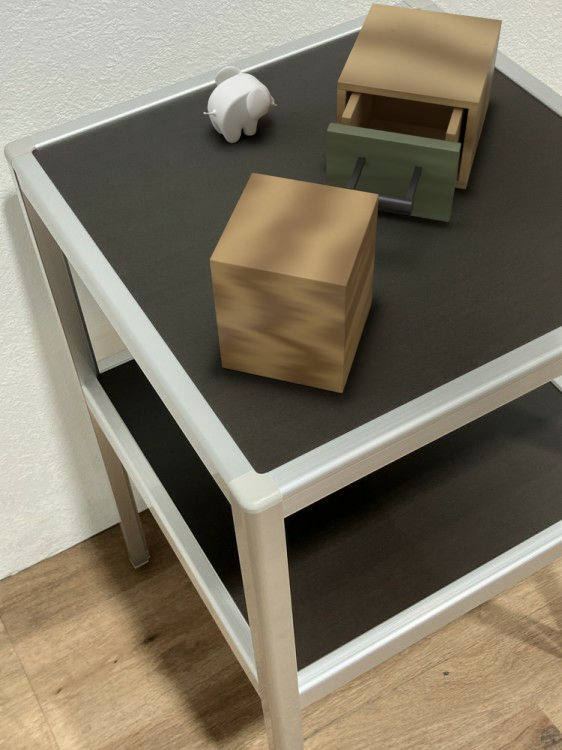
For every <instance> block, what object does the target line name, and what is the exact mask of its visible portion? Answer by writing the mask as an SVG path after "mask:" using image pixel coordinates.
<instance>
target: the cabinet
mask: <svg viewBox="0 0 562 750" xmlns="http://www.w3.org/2000/svg"><path fill="white" fill-rule="evenodd" d="M502 25H503V20H502V19H496V18H487V17H481V16H480V17H479V16H474V15H473V16H472V15H467V14H466V15H465V14H458V13H449V12H443V11H442V12H441V11H434V10H427V9H421V8H419V9H418V8H412V7H410V8H409V7H405V6H396V5H388V4H380V3H372V4H371V5H370V8H369V10H368V13H367V14H366V17H365V20H364V22H363V24H362V26H361V29H360V30H359V33H358V34H357V37H356V39H355V42H354V44H353V46H352V48H351V51H350V53H349V55H348V58H347V60H346V62H345V64H344V66H343V69H342V71H341V73H340V76H339V78H338V80H337V86H336V87H337V88H336V89H337V90H336V91H337V92H336V124H342V116H343V113H344V111H345V109H346V106H347V104H348V101H349V99H350V97H351V94H352V92H353V91H354V92H360V93H367V94H374V95H380V96H387V97H394V98H400V99H407V100H414V101H420V102H427V103H434V104H440V105H447V106H454V107H460V108H467V109H469V110H468V117H467V124H466V131H465V138H464V141H463V145H462V148H461V152H460V156H459V163H458V170H457V177H456V184H455V189H461V190H466V189H467V186H468V182H469V178H470V176H471V171H472V168H473V163H474V160H475V156H476V152H477V149H478V144H479V141H480V138H481V134H482V130H483V126H484V123H485V119H486V116H487V112H488V108H489V104H490V97H491V91H492V86H493V78H494V73H495V67H496V62H497V61H496V60H497V56H498V55H497V54H498V49H499V44H500V43H499V42H500V36H501V31H502Z"/></svg>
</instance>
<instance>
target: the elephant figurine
mask: <svg viewBox="0 0 562 750" xmlns="http://www.w3.org/2000/svg"><path fill="white" fill-rule="evenodd" d="M214 82H215V84H216V87H215V88H214V89H213V91H211V94H210V95H209V98H208V102H207V112H205V111H204V112H203V115H208V117H209V119H210V122H211V124H212V126H213V128H214V129H215V131H216V132H217V133H218V134H221V135H223V137H224V138H225V140H226V141H227V142H228V143H231V144H234V143H237V142H239V140H240V139H241V135H242V131H243V133H244V135H245V136H254V135H255V134H256V132H257V127H258V121H259V119H260V118H262V117H264V116H265V115H267V114H268V113H269V111H270V110H271V109H272V108H273V107H276V106H278V104H276V103H275V98H274V97H273V96H272V95H271V93H270V91H269V89H268V87H267V86H266V85H265V84H263V83H262V82H261V81H260V80H259V79H257V78H256V76H254V75H252V74H250V73H244V72H243V71H242V70H240V69H239V68H238V67H237V66H234V65H228V66H225V67H223V68H222V69H220V70H219V71H218V72H217V73H216V75H215V78H214Z"/></svg>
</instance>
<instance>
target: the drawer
mask: <svg viewBox="0 0 562 750" xmlns="http://www.w3.org/2000/svg"><path fill="white" fill-rule="evenodd" d="M468 110H469V109H467V108H460V107H454V106H447V105H440V104H434V103H427V102H420V101H414V100H407V99H400V98H394V97H387V96H380V95H374V94H367V93H360V92H354V91H353V92H352V94H351V97H350V99H349V101H348V104H347V106H346V109H345V111H344V113H343V116H342V124H337V123H336V122H330V123H329V125H328V127H327V129H326V159H325V160H326V162H325V163H326V164H325V165H326V166H325V167H326V168H325V173H326V174H325V179H326V180H325V185H327V186H333V187H339V188H345V189H351V190H356V191H362V192H368V193H374V194H378V195H379V198H378V211H381V212H387V213H393V214H398V215H404V216H409V217H410V216H412V217H417V218H423V219H429V220H434V221H440V222H446V223H449V222H450V219H451V216H452V212H453V211H452V210H453V204H454V196H455V190H456V188H455V184H456V177H457V170H458V163H459V156H460V152H461V148H462V145H463V141H464V138H465V131H466V124H467V117H468Z"/></svg>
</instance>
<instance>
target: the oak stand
mask: <svg viewBox="0 0 562 750" xmlns="http://www.w3.org/2000/svg"><path fill="white" fill-rule="evenodd" d="M378 198H379V195H378V194H374V193H368V192H362V191H356V190H351V189H345V188H339V187H333V186H327V185H326V184H320V183H314V182H309V181H304V180H296V179H292V178H285V177H280V176H275V175H268V174H262V173H258V172H252V173H251V175H250V177H249V179H248V180H247V183H246V185H245V187H244V188H243V191H242V193H241V195H240V197H239V198H238V201H237V203H236V205H235V208H234V209H233V211H232V212H231V215H230V217H229V220H228V221H227V224H226V225H225V228H224V230H223V232H222V233H221V236H220V238H219V239H218V242H217V244H216V246H215V248H214V250H213V252H212V254H211V256H210V258H209V264H210V273H211V274H210V275H211V282H212V291H213V300H214V306H215V307H214V308H215V317H216V325H217V335H218V342H219V351H220V359H221V367H222V368H223V369H227V370H233V371H237V372H242V373H246V374H251V375H256V376H261V377H264V378H270V379H274V380H279V381H283V382H288V383H293V384H298V385H302V386H307V387H311V388H316V389H320V390H325V391H329V392H335V393H339V394H343V393H344V390H345V386H346V384H347V382H348V381H347V380H348V378H349V374H350V371H351V368H352V366H353V363H354V359H355V356H356V353H357V350H358V346H359V344H360V341H361V337H362V334H363V331H364V328H365V326H366V323H367V320H368V317H369V314H370V311H371V307H372V304H373V287H374V274H375V273H374V272H375V260H376V259H375V258H376V240H377V229H378V228H377V227H378V211H379V210H378Z"/></svg>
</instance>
